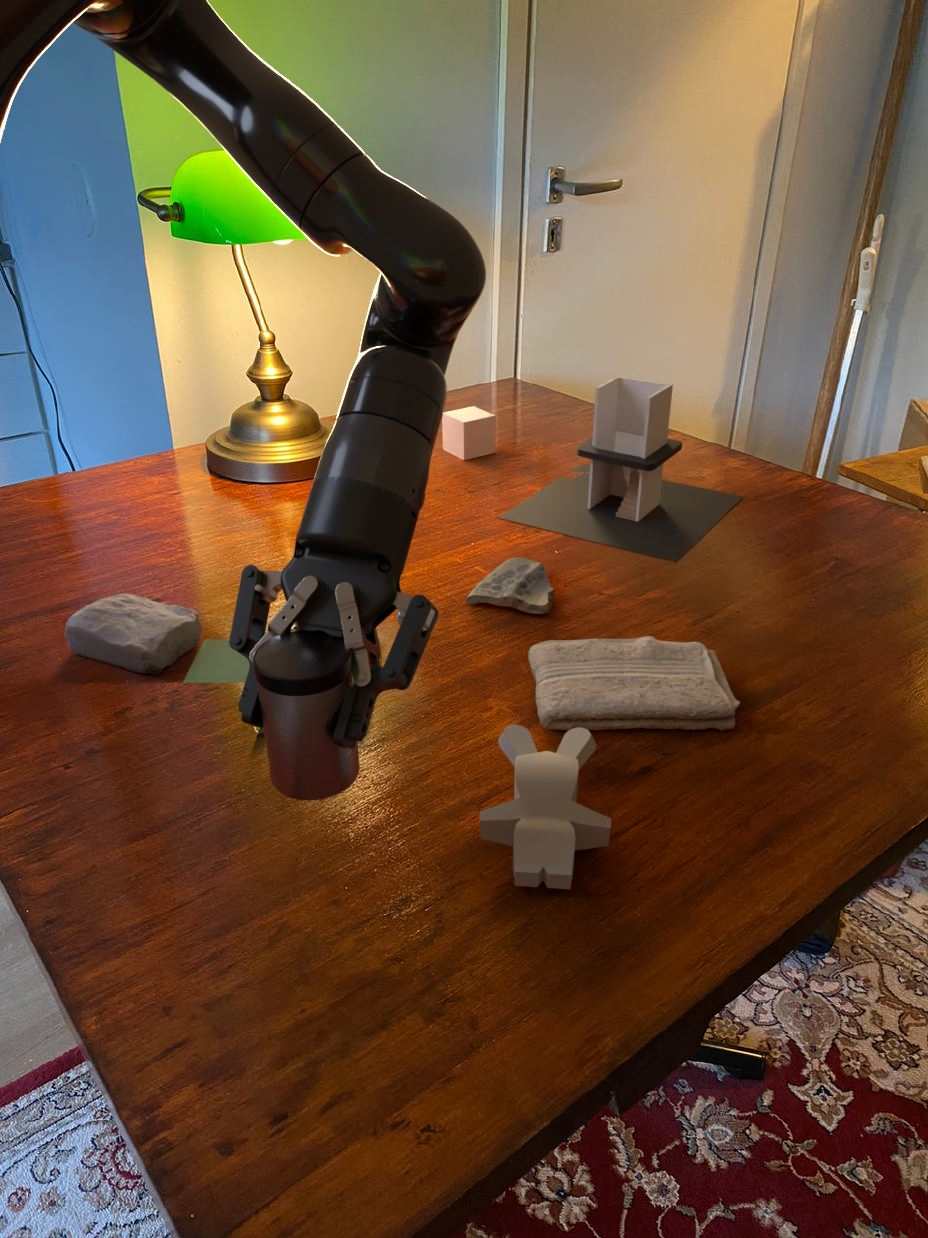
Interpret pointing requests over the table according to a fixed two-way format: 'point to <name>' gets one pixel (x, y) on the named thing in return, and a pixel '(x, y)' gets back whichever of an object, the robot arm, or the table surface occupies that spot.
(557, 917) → the table surface
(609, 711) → the washcloth
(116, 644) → the stone block
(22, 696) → the table surface
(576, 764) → the bunny figurine
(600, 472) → the box stand
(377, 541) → the robot arm
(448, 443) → the white cube
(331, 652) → the thermos cup
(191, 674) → the mat
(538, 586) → the ceramic fragment
